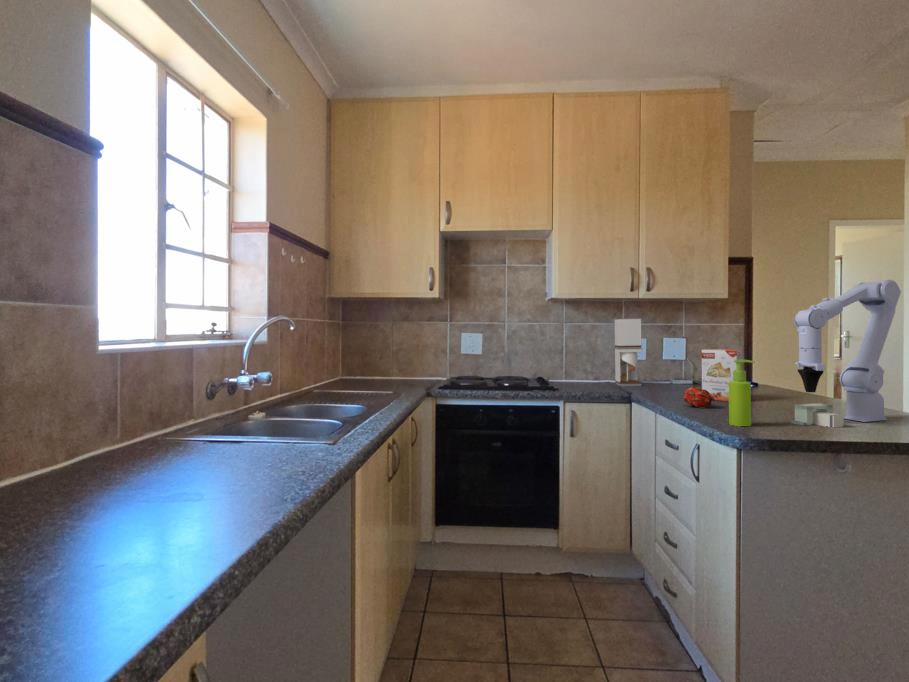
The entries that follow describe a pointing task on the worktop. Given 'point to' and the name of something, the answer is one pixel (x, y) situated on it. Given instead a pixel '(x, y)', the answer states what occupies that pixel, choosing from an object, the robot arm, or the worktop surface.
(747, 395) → the soap dispenser
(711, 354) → the cracker box
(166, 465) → the worktop surface
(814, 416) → the bar
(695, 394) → the dragon fruit
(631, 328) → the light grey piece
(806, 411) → the pale green block
